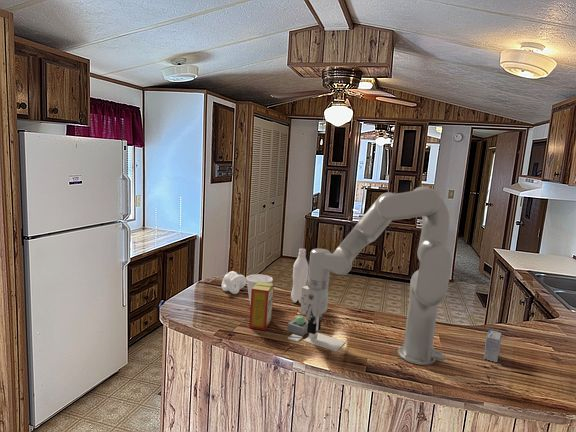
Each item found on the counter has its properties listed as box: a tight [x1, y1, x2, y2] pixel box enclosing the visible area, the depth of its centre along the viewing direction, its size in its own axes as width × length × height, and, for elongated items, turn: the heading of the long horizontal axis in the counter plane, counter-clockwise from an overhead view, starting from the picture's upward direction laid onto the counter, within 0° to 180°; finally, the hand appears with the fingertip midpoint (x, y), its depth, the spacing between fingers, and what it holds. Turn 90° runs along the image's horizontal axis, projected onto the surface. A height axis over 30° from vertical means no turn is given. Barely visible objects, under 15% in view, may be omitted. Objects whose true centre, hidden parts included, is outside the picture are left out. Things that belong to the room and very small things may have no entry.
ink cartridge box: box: [299, 285, 308, 316], centre depth 173 cm, size 9×5×15 cm, turn 143°
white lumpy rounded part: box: [221, 270, 247, 295], centre depth 192 cm, size 11×12×9 cm
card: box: [287, 333, 303, 343], centre depth 147 cm, size 4×4×1 cm
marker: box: [308, 313, 319, 340], centre depth 146 cm, size 3×3×12 cm
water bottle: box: [290, 248, 309, 304], centre depth 183 cm, size 7×7×25 cm
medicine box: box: [483, 329, 503, 363], centre depth 144 cm, size 8×4×9 cm, turn 148°
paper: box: [303, 332, 347, 352], centre depth 146 cm, size 13×9×1 cm
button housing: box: [286, 317, 309, 337], centre depth 154 cm, size 7×7×3 cm
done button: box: [295, 314, 306, 326], centre depth 154 cm, size 3×3×4 cm
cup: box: [245, 273, 274, 306], centre depth 176 cm, size 12×12×12 cm
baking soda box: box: [248, 282, 275, 331], centre depth 156 cm, size 10×6×16 cm
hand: (313, 330), depth 146 cm, fingers closed on marker, 3 cm apart
